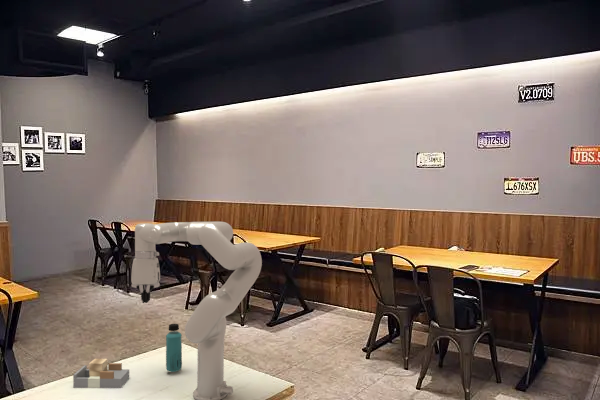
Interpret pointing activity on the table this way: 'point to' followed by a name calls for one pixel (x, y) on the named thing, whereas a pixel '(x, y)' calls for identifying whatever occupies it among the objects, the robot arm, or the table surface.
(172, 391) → the table surface
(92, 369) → the maple block
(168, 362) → the beverage bottle
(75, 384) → the grey open boxy piece
